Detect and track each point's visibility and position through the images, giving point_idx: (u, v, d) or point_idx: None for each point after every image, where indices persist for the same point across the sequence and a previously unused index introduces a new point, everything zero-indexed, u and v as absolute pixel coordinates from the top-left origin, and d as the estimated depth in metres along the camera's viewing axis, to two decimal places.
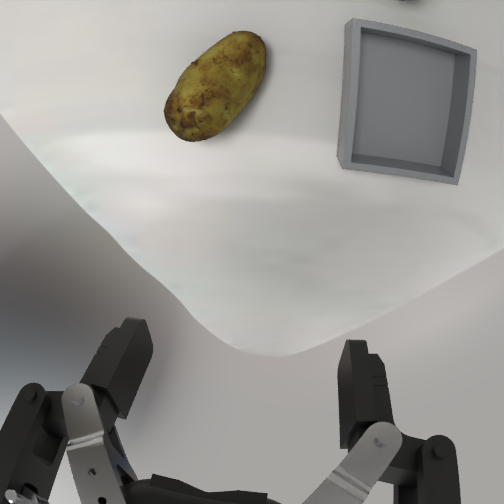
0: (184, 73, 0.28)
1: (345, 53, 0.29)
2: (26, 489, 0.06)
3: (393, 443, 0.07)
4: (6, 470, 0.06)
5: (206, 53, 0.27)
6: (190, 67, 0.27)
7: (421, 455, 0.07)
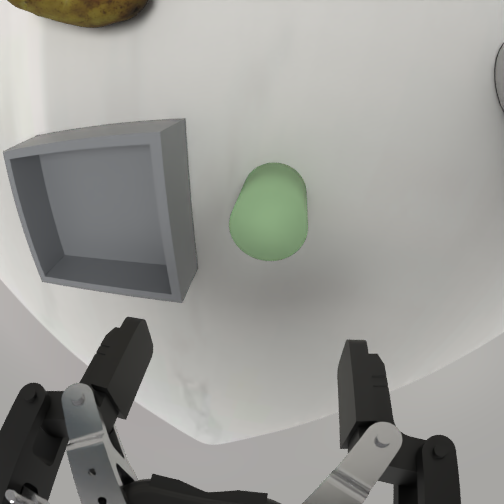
0: None
1: (137, 123, 0.23)
2: (26, 489, 0.06)
3: (393, 443, 0.07)
4: (6, 470, 0.06)
5: None
6: None
7: (421, 455, 0.07)
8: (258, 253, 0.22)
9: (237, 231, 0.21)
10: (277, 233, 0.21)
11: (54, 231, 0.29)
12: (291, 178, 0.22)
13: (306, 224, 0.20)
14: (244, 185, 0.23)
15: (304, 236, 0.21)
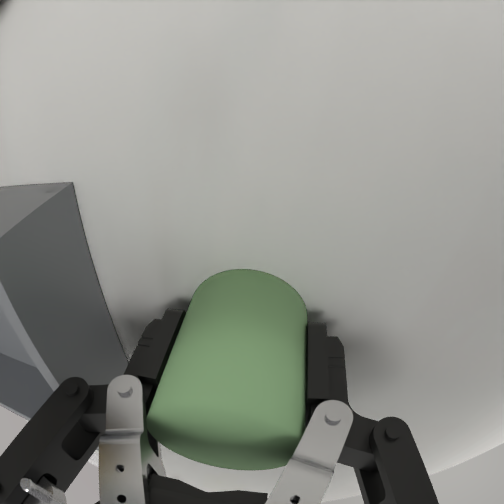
0: None
1: (2, 195, 0.11)
2: (44, 480, 0.06)
3: (343, 421, 0.08)
4: (28, 459, 0.06)
5: None
6: None
7: (374, 441, 0.08)
8: (210, 461, 0.10)
9: (165, 438, 0.09)
10: (241, 451, 0.09)
11: None
12: (277, 322, 0.10)
13: None
14: (181, 329, 0.11)
15: None
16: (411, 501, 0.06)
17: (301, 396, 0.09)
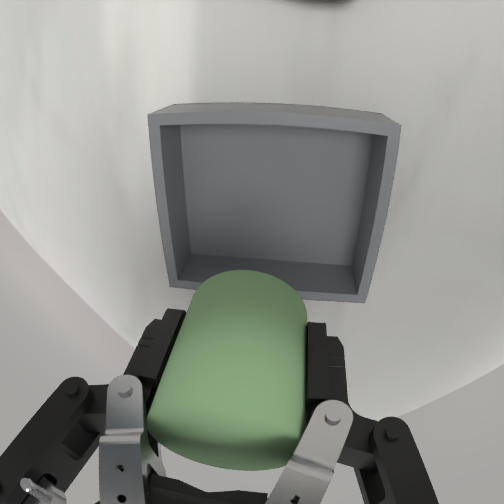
0: None
1: (337, 109, 0.21)
2: (44, 480, 0.06)
3: (343, 421, 0.08)
4: (28, 459, 0.06)
5: None
6: None
7: (374, 441, 0.08)
8: (210, 462, 0.10)
9: (165, 439, 0.09)
10: (241, 451, 0.09)
11: (186, 224, 0.27)
12: (277, 323, 0.10)
13: None
14: (181, 330, 0.11)
15: None
16: (411, 501, 0.06)
17: (301, 397, 0.09)
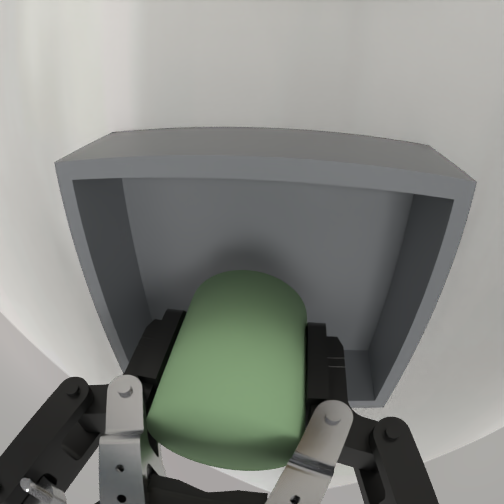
0: None
1: (363, 139, 0.13)
2: (44, 480, 0.06)
3: (343, 421, 0.08)
4: (28, 459, 0.06)
5: None
6: None
7: (374, 440, 0.08)
8: (210, 462, 0.10)
9: (165, 439, 0.09)
10: (241, 452, 0.09)
11: (142, 300, 0.19)
12: (277, 323, 0.10)
13: None
14: (181, 330, 0.11)
15: None
16: (411, 501, 0.06)
17: (301, 397, 0.09)
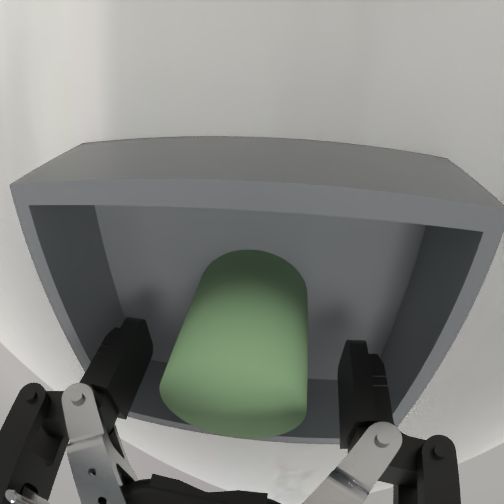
0: None
1: (373, 152, 0.11)
2: (26, 489, 0.06)
3: (393, 443, 0.07)
4: (6, 470, 0.06)
5: None
6: None
7: (421, 455, 0.07)
8: (218, 430, 0.11)
9: (177, 405, 0.10)
10: (248, 415, 0.10)
11: None
12: (281, 295, 0.12)
13: (304, 408, 0.10)
14: (192, 303, 0.12)
15: (299, 420, 0.10)
16: None
17: (303, 361, 0.10)
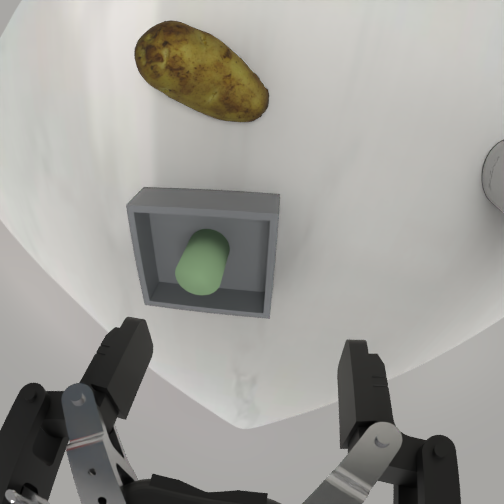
0: (214, 43, 0.22)
1: (246, 195, 0.35)
2: (26, 489, 0.06)
3: (393, 443, 0.07)
4: (6, 470, 0.06)
5: (238, 65, 0.24)
6: (221, 49, 0.23)
7: (421, 455, 0.07)
8: (193, 290, 0.35)
9: (180, 278, 0.34)
10: (203, 280, 0.34)
11: (154, 264, 0.41)
12: (215, 242, 0.36)
13: (219, 275, 0.34)
14: (186, 246, 0.36)
15: (219, 282, 0.34)
16: None
17: (220, 262, 0.35)
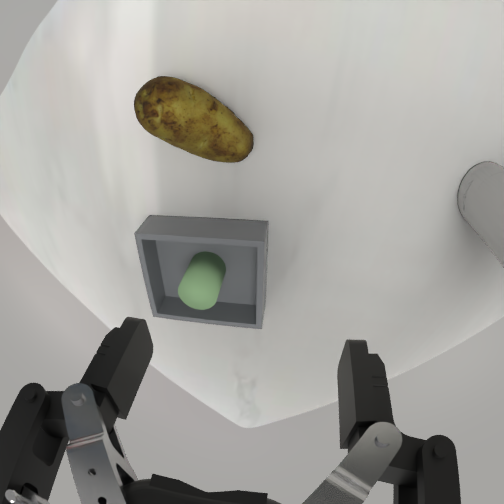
0: (201, 97, 0.28)
1: (238, 223, 0.40)
2: (26, 489, 0.06)
3: (393, 443, 0.07)
4: (6, 470, 0.06)
5: (224, 115, 0.29)
6: (208, 103, 0.28)
7: (421, 455, 0.07)
8: (194, 306, 0.41)
9: (182, 295, 0.40)
10: (201, 297, 0.40)
11: (161, 281, 0.47)
12: (212, 264, 0.41)
13: (215, 293, 0.39)
14: None
15: (215, 299, 0.40)
16: None
17: (216, 281, 0.40)
